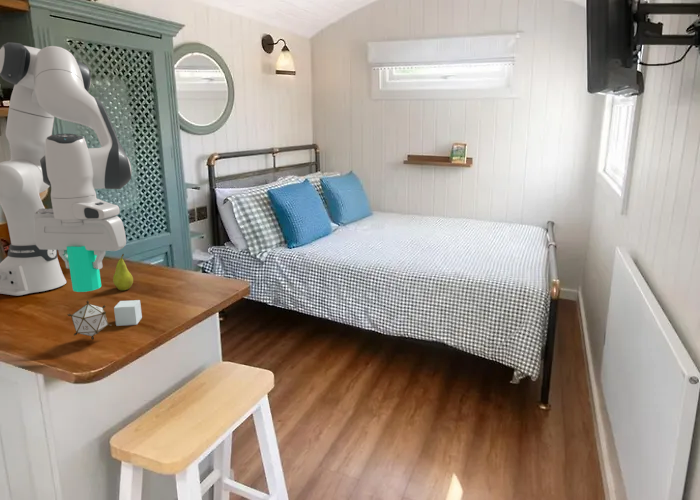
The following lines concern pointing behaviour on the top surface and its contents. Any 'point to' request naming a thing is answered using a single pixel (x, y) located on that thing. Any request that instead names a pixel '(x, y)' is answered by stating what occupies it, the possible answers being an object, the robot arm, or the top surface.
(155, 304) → the top surface
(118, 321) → the grey block
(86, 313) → the game die
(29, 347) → the top surface
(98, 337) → the top surface
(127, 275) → the fruit
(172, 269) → the top surface
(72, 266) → the candle
